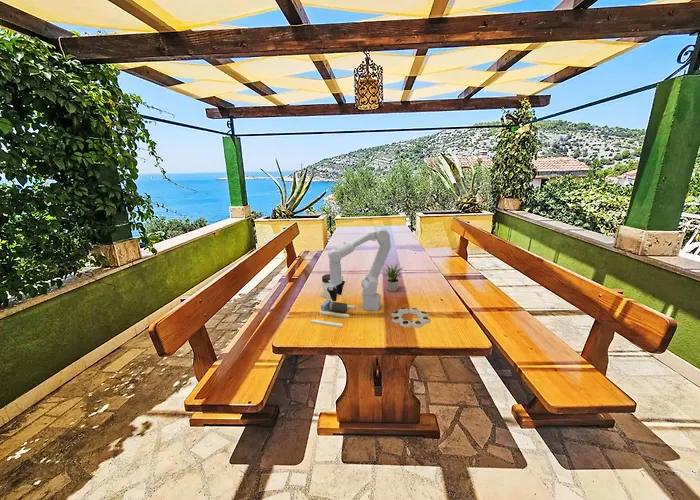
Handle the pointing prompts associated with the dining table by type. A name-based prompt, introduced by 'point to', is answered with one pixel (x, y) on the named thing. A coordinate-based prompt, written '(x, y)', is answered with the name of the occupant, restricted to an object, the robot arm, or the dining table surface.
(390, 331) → the dining table surface
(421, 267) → the dining table surface
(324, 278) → the jar
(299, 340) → the dining table surface
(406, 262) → the dining table surface
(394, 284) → the house plant
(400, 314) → the paint palette
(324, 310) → the cream cylinder cradle
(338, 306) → the banded tin can
